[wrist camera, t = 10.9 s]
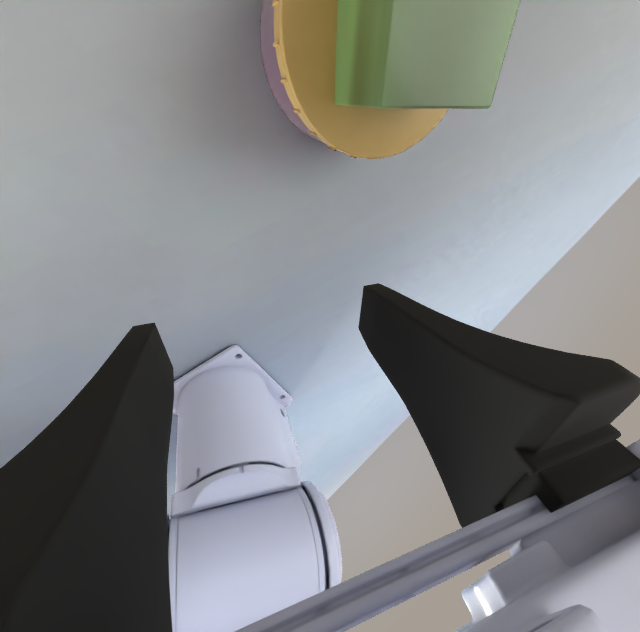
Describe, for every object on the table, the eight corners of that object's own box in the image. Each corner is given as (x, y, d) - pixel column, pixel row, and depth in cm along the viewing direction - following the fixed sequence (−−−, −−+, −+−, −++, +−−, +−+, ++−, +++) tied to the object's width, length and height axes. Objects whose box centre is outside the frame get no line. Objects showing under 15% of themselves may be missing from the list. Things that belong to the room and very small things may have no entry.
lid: (470, 98, 15) (489, 98, 14) (327, 189, 16) (336, 195, 15) (447, -197, 10) (476, -229, 9) (223, -48, 10) (227, -63, 9)
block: (449, -42, 11) (548, -93, 8) (424, 104, 14) (491, 108, 11) (338, -60, 10) (404, -128, 7) (333, 104, 12) (379, 109, 9)
